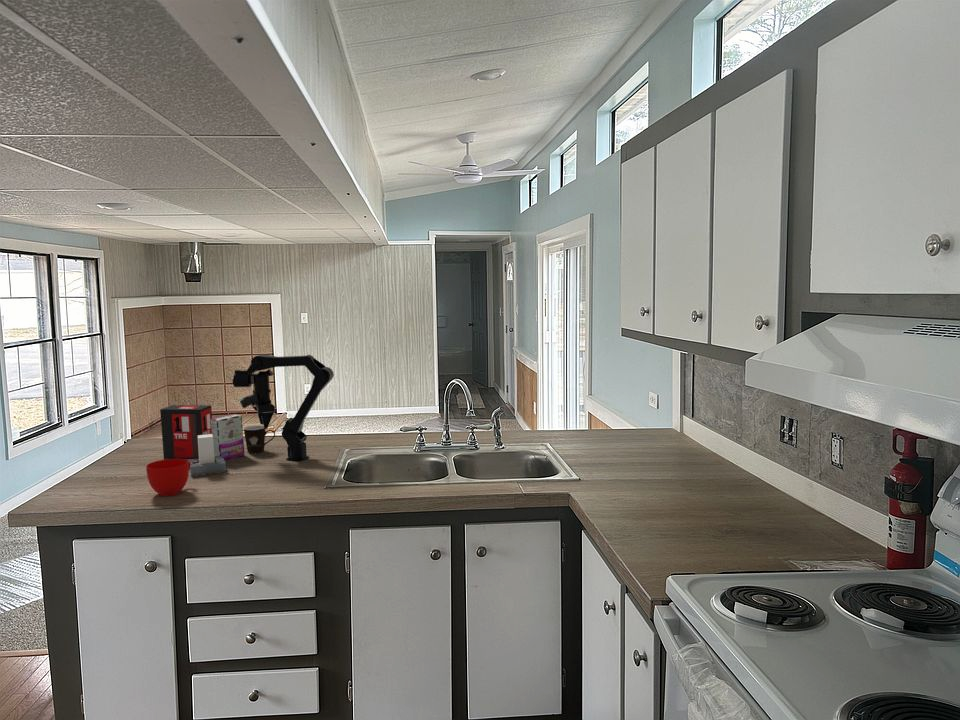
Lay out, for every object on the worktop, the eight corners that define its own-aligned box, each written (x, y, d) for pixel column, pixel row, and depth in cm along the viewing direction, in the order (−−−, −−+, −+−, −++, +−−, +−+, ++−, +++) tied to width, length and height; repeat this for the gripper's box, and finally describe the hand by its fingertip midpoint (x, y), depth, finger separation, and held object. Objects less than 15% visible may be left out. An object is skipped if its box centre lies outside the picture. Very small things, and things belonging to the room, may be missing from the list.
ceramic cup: (206, 485, 241) (204, 456, 240) (172, 500, 225) (170, 470, 224) (174, 482, 245) (172, 454, 243) (139, 497, 228) (137, 467, 227)
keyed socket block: (222, 464, 268) (222, 455, 267) (226, 472, 257) (225, 462, 256) (188, 468, 262) (188, 459, 262) (191, 476, 252) (190, 467, 251)
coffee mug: (240, 453, 284) (239, 429, 283) (253, 448, 292) (251, 425, 291) (265, 455, 280) (263, 430, 279) (277, 450, 289) (276, 426, 287)
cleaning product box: (163, 459, 278) (160, 409, 275) (175, 453, 286) (172, 405, 284) (203, 459, 276) (200, 409, 273) (214, 453, 285) (211, 405, 282)
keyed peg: (213, 467, 263) (211, 434, 261) (215, 471, 258) (213, 436, 257) (195, 470, 260) (193, 436, 259) (196, 473, 256) (194, 438, 254)
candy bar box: (237, 453, 284) (235, 413, 282) (244, 455, 281) (242, 415, 279) (212, 459, 275) (210, 418, 273) (219, 461, 272) (217, 420, 270)
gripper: (236, 385, 276) (239, 424, 278) (243, 392, 259) (245, 433, 261) (266, 383, 281) (268, 421, 283) (274, 389, 264) (276, 430, 266)
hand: (263, 426), depth 273 cm, fingers open, 9 cm apart
